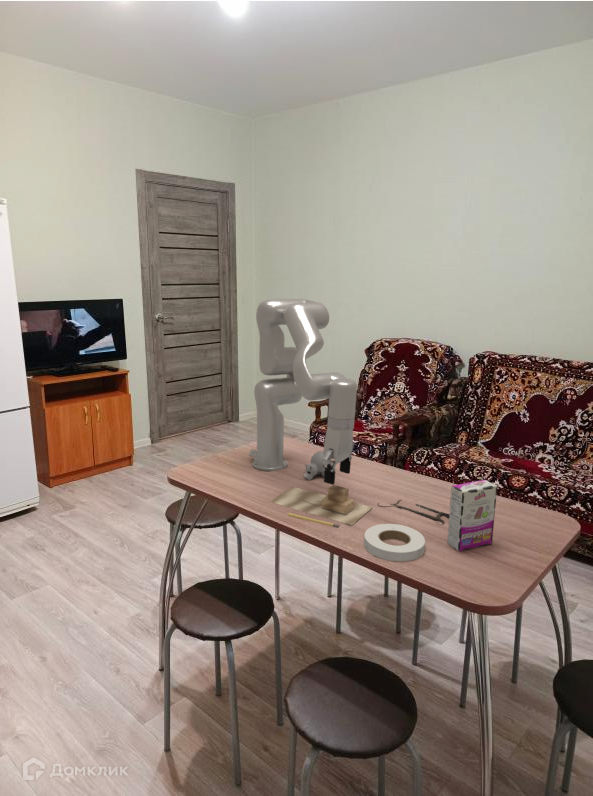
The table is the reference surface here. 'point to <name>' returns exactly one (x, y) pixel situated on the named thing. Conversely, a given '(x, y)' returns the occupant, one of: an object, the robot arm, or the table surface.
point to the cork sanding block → (338, 500)
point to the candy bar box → (472, 515)
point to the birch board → (317, 505)
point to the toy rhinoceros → (315, 466)
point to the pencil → (313, 520)
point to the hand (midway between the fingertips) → (337, 477)
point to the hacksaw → (422, 513)
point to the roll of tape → (394, 552)
